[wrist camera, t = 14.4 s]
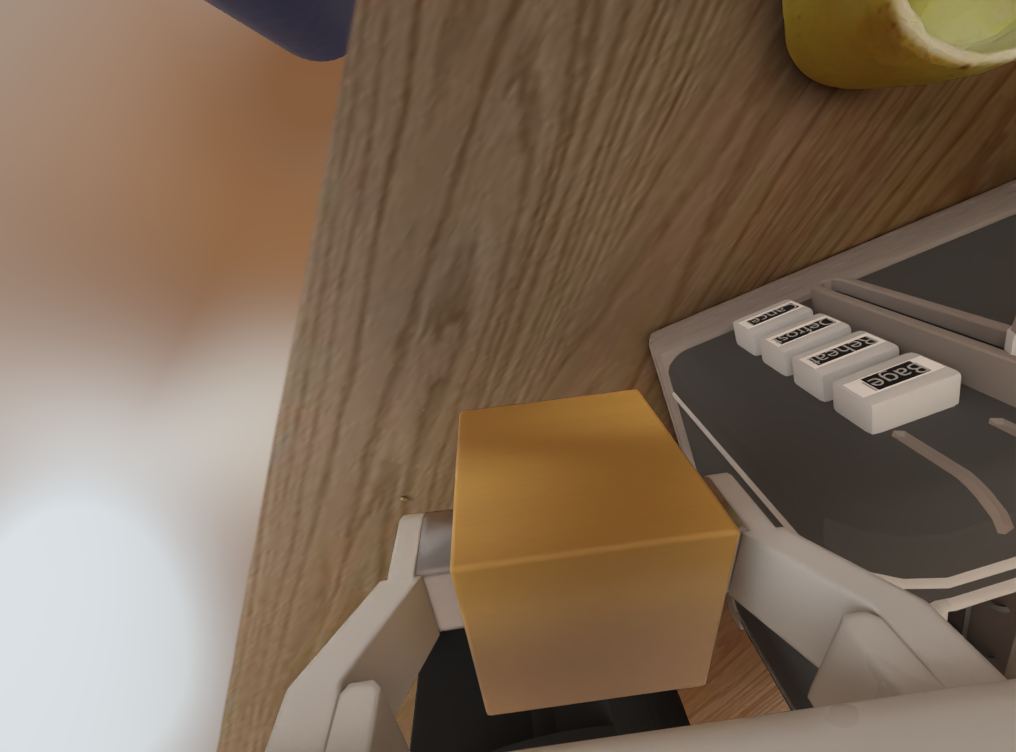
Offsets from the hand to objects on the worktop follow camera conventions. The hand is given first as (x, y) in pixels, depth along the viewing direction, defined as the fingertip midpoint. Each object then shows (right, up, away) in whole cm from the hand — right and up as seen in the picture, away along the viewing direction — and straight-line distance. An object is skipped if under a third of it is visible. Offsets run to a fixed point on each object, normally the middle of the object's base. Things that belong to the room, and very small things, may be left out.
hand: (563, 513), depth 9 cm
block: (0, +1, +2) cm, 2 cm away
